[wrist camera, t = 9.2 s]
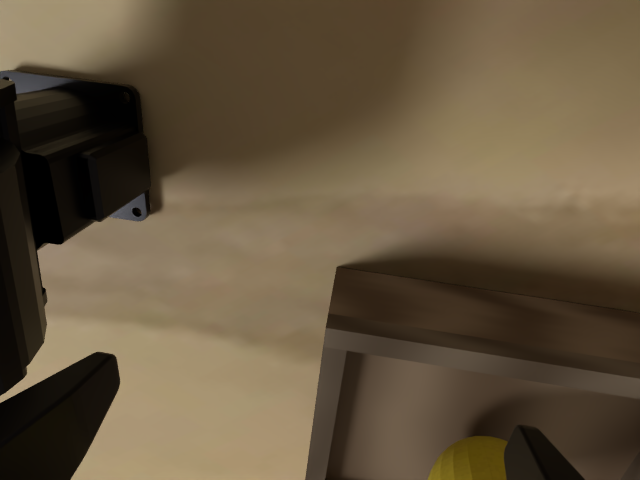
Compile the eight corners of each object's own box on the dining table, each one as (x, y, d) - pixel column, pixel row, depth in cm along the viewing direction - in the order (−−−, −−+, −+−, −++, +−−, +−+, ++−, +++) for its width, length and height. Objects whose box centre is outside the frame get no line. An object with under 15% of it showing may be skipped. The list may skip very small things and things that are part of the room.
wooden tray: (314, 426, 27) (302, 504, 23) (336, 267, 22) (325, 328, 17) (569, 472, 26) (608, 562, 22) (660, 316, 21) (738, 394, 16)
